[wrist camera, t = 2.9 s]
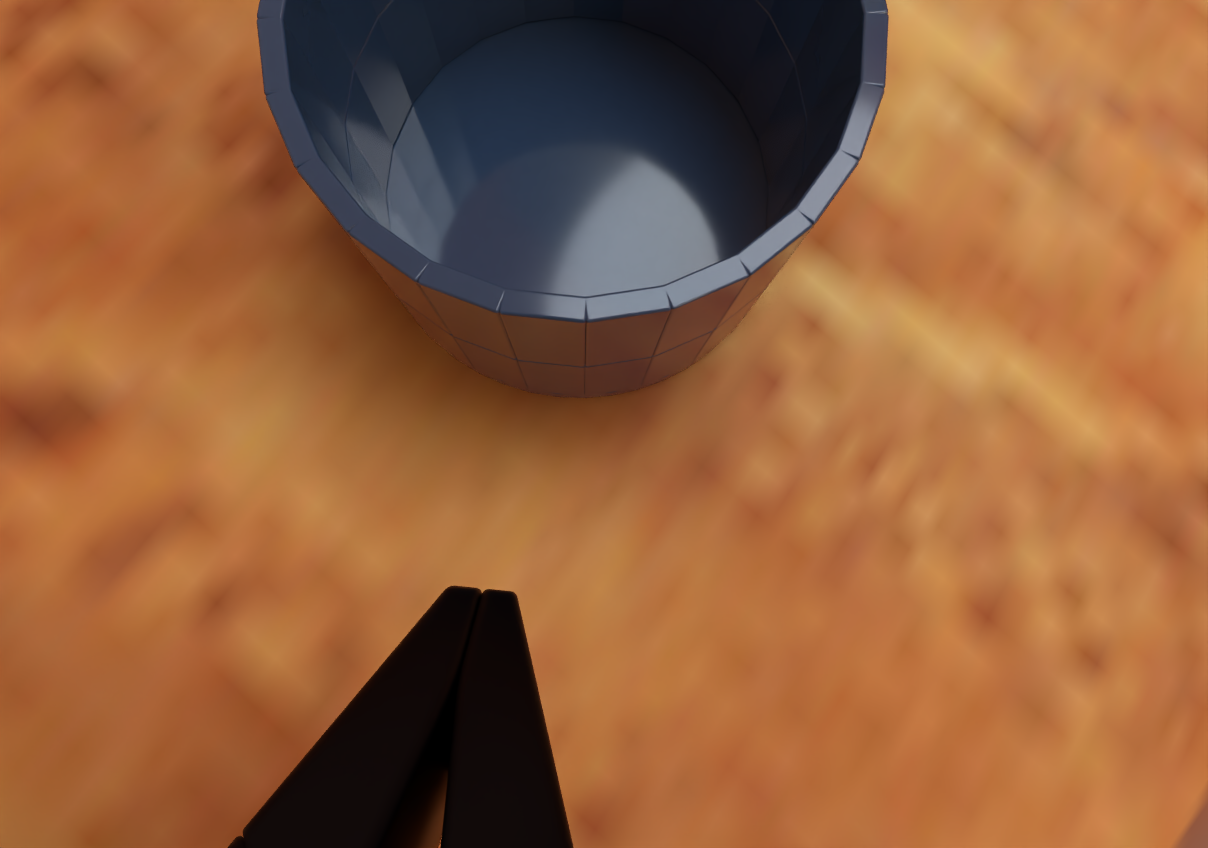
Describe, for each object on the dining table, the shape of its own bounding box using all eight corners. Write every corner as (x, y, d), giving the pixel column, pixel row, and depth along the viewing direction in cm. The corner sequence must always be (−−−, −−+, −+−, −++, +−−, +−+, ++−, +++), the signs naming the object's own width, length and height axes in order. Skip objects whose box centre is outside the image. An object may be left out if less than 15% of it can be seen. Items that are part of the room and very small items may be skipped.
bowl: (846, 300, 22) (998, 168, 14) (471, 465, 21) (402, 425, 13) (675, -37, 23) (724, -331, 15) (315, 103, 22) (166, -135, 14)
